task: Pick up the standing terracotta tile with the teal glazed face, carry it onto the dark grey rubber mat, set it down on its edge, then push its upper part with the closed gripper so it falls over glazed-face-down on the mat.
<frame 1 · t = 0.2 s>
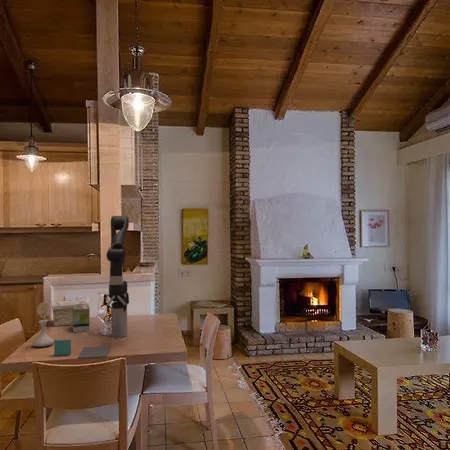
hand: (116, 311, 238), 17 cm above the table, tool pointing down, fingers open, 8 cm apart
tile: (62, 354, 215), on the table
storage basket: (70, 323, 286), on the table
flower in vase: (43, 346, 231), on the table
tea box: (81, 329, 268), on the table
mat: (94, 352, 218), on the table
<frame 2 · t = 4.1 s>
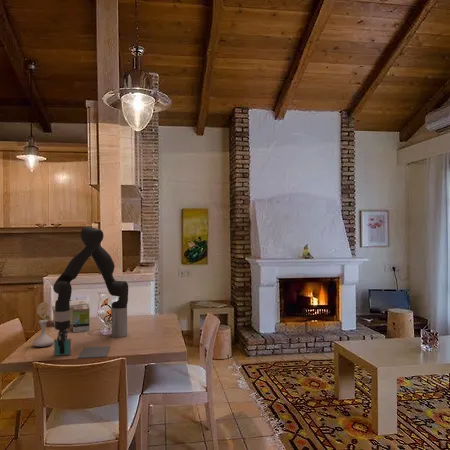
hand: (62, 352, 215), 1 cm above the table, tool pointing down, fingers closed on tile, 2 cm apart
tile: (62, 354, 215), on the table, touching gripper
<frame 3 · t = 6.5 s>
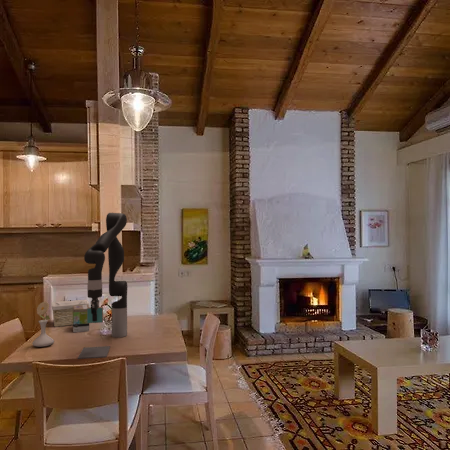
hand: (95, 320, 220), 16 cm above the table, tool pointing down, fingers closed on tile, 2 cm apart
tile: (95, 322, 220), point 15 cm above the table, touching gripper
when the fingers open (3 cm above the table, at t = 9.2 s): tile stays where it is, resting on mat.
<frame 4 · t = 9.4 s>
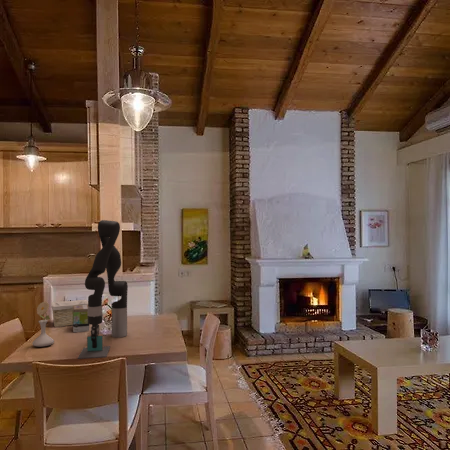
hand: (95, 346, 220), 3 cm above the table, tool pointing down, fingers open, 4 cm apart
tile: (95, 350, 220), point 1 cm above the table, touching mat
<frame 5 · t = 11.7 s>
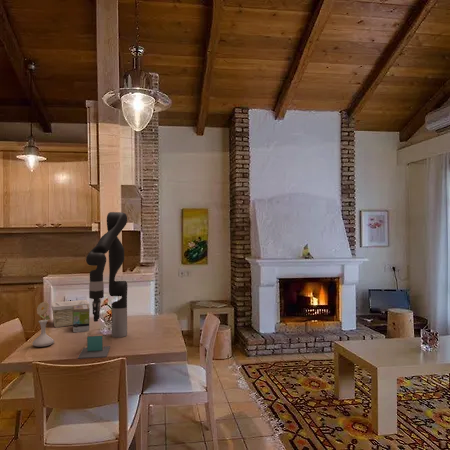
hand: (96, 320, 226), 15 cm above the table, tool pointing down, fingers open, 5 cm apart
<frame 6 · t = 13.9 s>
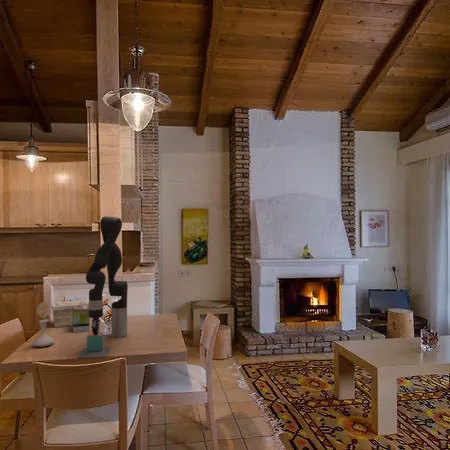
hand: (95, 340, 223), 5 cm above the table, tool pointing down, fingers closed
tile: (95, 350, 220), point 1 cm above the table, touching gripper, mat
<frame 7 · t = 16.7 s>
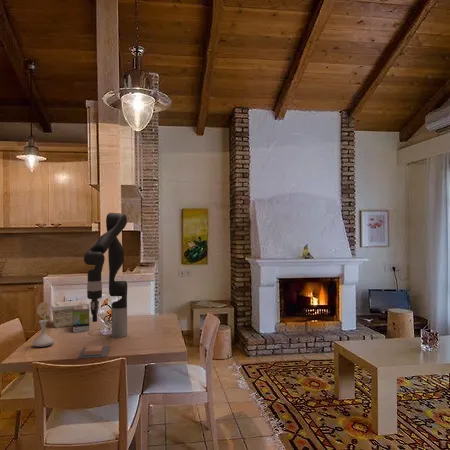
hand: (94, 321, 220), 16 cm above the table, tool pointing down, fingers closed
tile: (94, 348, 218), point 2 cm above the table, tilted 90°, touching mat
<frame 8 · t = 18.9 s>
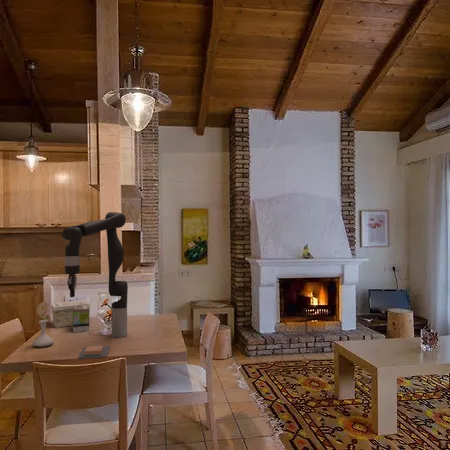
hand: (72, 296, 221), 29 cm above the table, tool pointing down, fingers closed
at the end: tile tilted 90°; tile inside the target area (1.9 cm from its centre), point 1.8 cm above the table; the gripper is holding nothing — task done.
